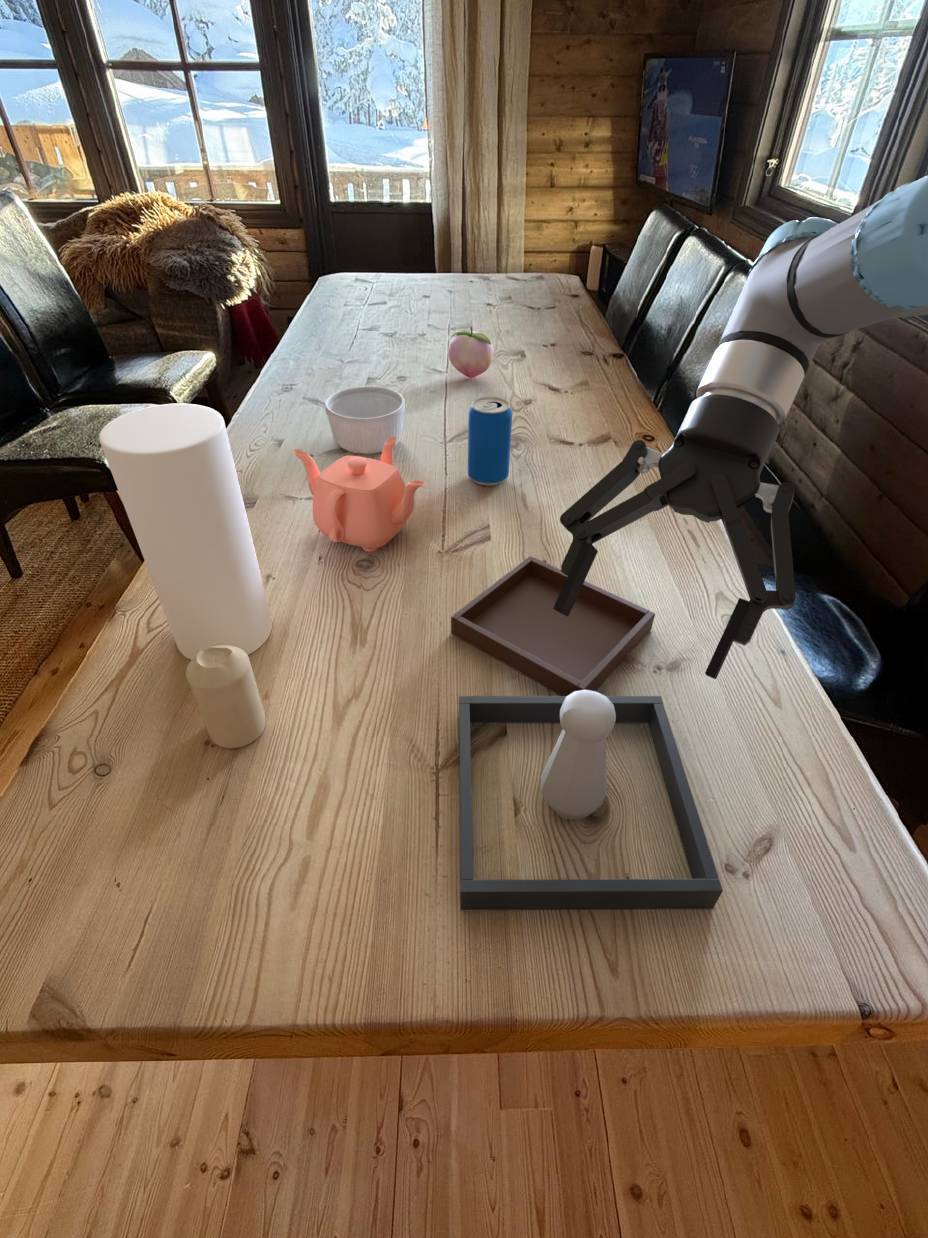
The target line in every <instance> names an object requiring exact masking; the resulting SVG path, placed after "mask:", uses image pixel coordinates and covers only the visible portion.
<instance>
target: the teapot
mask: <svg viewBox="0 0 928 1238" xmlns="http://www.w3.org/2000/svg"><path fill="white" fill-rule="evenodd" d="M395 443H396V437H391V438H390V439H388V440H387V442H386V443H385V445H384V448H383V451H382V452H381V455H380V458H379V460H378V459H375V458H372V457H371V458H370V457H365V456H360V455H343V456H341V457H340V458H339V459H338V458H337V460H334V462H332V463H331V464H330V465H329V466H327V467H326V468H325V469H323V471H321V472H320V470H319V468H318V466H317V464H316V462H315V460H314V458H313V457H312V456H311V455H310V454H309V453H307V452H305V451H303V450H301V449H293V454H294V455H295V456H296V457H297V458H298V459H300V461H301V463H302V464H303V467H304V469H305V473H306V479H307V484H308V488H309V491H310V493H311V495H312V496H313V497H312V518H313V522H314V525H315V526H316V527H317V529H318V531H320V533H322V535H325V536H326V537H329V538H328V539H329V540H330V541H332V542H333V543H340V542H341V543H342V544H343V543H344V544H347V545H351V546H356V547H362V550H363V551H365V552H374V551H377V550H378V549H379V548H381V547H383V546H385V545H386V544H387V543H389V542H390V541H391V540H392V539H393V538H394V537H396V536H397V534H398V533H399V532H400V531H401V530H402V529H403V528H404V526H405V525H406V524H407V523H408V520H409V519H410V517H411V516H412V514H413V512H414V508H415V495H416V491H417V490H418V488H420V487H422V486H424V485H426V482H425V481H423V480H413V481H410V482H408V483H407V484H405V481H404V479H403V477H402V475H401V473H400V471H399V468H398V467H396V466H395V462H394V449H395V446H396V445H395Z"/></svg>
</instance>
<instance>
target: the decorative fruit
mask: <svg viewBox="0 0 928 1238" xmlns="http://www.w3.org/2000/svg"><path fill="white" fill-rule="evenodd" d="M450 337H451V338H452V337H453V338H452V340H451V341H450V343H449V345H448V351H447V355H448V360H449V362H450V364H451V365H452V367H454V369H455V370H456V371H458V372H459V373H460V374H462V375H463V376H464V377H467V378H470V379H473V378H476V377H477V376H480V375H482V374H483V373H485V372H486V371H488V369H489V368H490V367H491V364H492V362H493V358H494V345H493V343H492V341H491V339H490V338H489V336H488V335H487V334H485V333H483V332H479V331H473V326H471V327H470V331H469V330H465V329H461V330H458V331H455V332H453V333H452V334H451V336H450Z"/></svg>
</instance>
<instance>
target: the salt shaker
mask: <svg viewBox="0 0 928 1238" xmlns="http://www.w3.org/2000/svg"><path fill="white" fill-rule="evenodd" d="M606 696H607V695H604V694H603V693H601V692H599V691H590V690H580V691H574V692H573V693H571V694H570V695H568V696H566V698H565V700H564V702H563V704H562V707H561V709H560V722H561V723H560V727H561V729H562V730H561V732H560V735H559V736H558V738H557V741H556V743H555V746H554V747H553V750H552V752H551V754H550V756H549V759H548V760H547V762H546V765H545V767H544V768H543V772H542V774H541V776H540V789H541V795H542V796H543V798H544V800H545V802H546V804H547V806H548V807H550V809H552V811H553V812H555V813H556V815H558V817H560V818H561V819H562V820H584V819H586V818H587V817H588V816H590V815H591V814H592V813H594V812H595V811H597V810H598V809H599V808H600V807H601V806H602V805H603V803H604V800H605V799H606V795H607V794H608V774H607V773H608V772H607V771H608V769H607V746H606V745H607V743H606V738H607V737H609V736H610V735H611V733H612V731H613V729H614V726H615V725H616V723H615V721H616V713H615V709H614V705H613V704H612V703H611V701H610V700H609V699H608V698H607V697H606Z"/></svg>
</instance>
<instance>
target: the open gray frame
mask: <svg viewBox="0 0 928 1238" xmlns="http://www.w3.org/2000/svg"><path fill="white" fill-rule="evenodd" d="M605 696H606V697H607V698H608V699H609V700H610V701H611V703H612V704H613V705H614V709H615V713H616V721H615V724H647V726H648V730H649V733H650V737H651V741H652V743H653V747H654V751H655V754H656V757H657V758H656V759H657V761H658V765H659V768H660V771H661V775H662V779H663V782H664V786H665V789H666V793H667V796H668V799H669V803H670V807H671V809H672V814H673V818H674V820H675V824H676V827H677V830H678V831H677V832H678V835H679V838H680V841H681V845H682V848H683V852H684V856H685V858H686V862H687V866H688V869H689V872H690V876H691V878H603V879H602V878H593V879H592V878H589V879H588V878H585V879H584V878H583V879H582V878H581V879H579V878H578V879H577V878H575V879H571V878H568V879H563V878H562V879H561V878H560V879H559V878H557V879H554V878H553V879H552V878H551V879H546V878H545V879H474V844H473V843H474V841H473V840H474V839H473V837H474V836H473V797H472V796H473V795H472V794H473V793H472V791H473V790H472V757H471V756H472V755H471V753H472V751H471V748H472V747H471V724H561V722H560V709H561V707H562V704H563V702H564V700H565V698H566V696H561V695H459V696H458V755H459V756H458V762H459V764H458V765H459V767H458V768H459V769H458V770H459V771H458V772H459V773H458V775H459V777H458V778H459V780H458V781H459V782H458V783H459V911H557V910H558V911H567V910H568V911H577V910H578V911H581V910H582V911H587V910H590V911H595V910H596V911H599V910H600V911H603V910H606V911H607V910H614V911H615V910H618V911H619V910H621V911H622V910H714V909H715V906H716V904H717V903H718V901H719V899H720V897H721V895H722V894H723V892H724V889H723V887H722V884H721V881H720V877H719V874H718V871H717V868H716V864H715V862H714V859H713V856H712V852H711V849H710V846H709V843H708V839H707V836H706V833H705V831H704V827H703V823H702V820H701V818H700V814H699V811H698V808H697V805H696V802H695V799H694V796H693V793H692V790H691V786H690V783H689V780H688V777H687V774H686V771H685V768H684V764H683V762H682V759H681V755H680V752H679V749H678V745H677V742H676V739H675V736H674V733H673V730H672V727H671V723H670V721H669V717H668V715H667V711H666V708H665V705H664V701H663V699H662V696H661V695H605Z"/></svg>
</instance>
